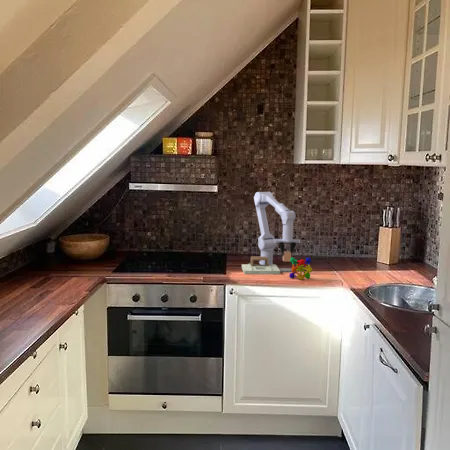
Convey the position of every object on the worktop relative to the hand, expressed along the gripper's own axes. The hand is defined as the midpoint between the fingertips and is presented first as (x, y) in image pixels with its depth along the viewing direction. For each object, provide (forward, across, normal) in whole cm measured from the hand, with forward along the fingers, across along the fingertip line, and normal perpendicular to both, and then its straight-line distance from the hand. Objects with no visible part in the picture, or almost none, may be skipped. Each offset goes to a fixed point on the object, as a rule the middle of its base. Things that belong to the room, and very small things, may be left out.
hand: (286, 255), depth 274 cm
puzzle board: (+9, -15, -1) cm, 17 cm away
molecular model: (+9, +4, -19) cm, 21 cm away
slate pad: (+9, 0, 0) cm, 9 cm away
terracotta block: (+3, 0, 0) cm, 3 cm away
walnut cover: (+7, -15, +5) cm, 17 cm away
